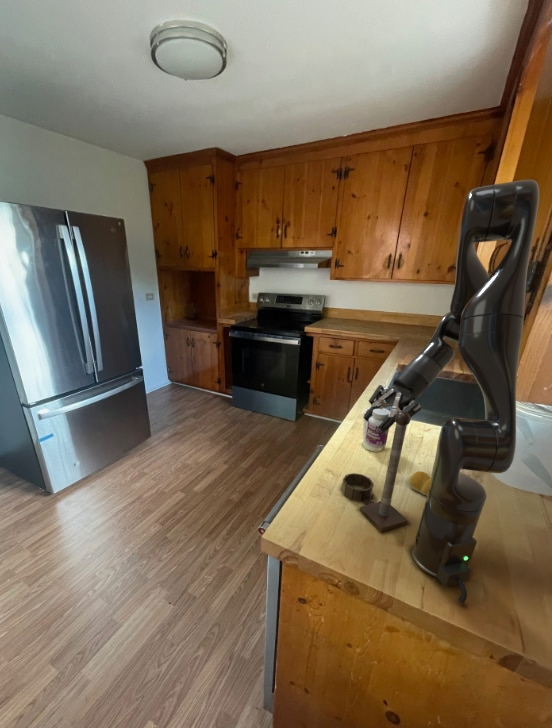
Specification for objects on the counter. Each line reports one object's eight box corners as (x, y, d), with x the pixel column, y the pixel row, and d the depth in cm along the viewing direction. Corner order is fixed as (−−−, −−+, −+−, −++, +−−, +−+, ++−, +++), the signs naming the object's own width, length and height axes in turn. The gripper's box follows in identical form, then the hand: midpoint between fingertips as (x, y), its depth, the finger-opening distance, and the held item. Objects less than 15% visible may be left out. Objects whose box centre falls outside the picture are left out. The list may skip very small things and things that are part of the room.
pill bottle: (362, 445, 88) (367, 412, 85) (367, 437, 93) (372, 405, 89) (383, 450, 86) (389, 417, 82) (387, 442, 90) (393, 410, 86)
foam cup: (353, 442, 118) (358, 409, 113) (375, 438, 121) (381, 406, 116) (369, 455, 110) (375, 420, 105) (392, 451, 112) (399, 417, 107)
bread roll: (436, 502, 88) (439, 490, 87) (403, 486, 94) (406, 474, 93) (448, 489, 93) (451, 477, 92) (416, 475, 99) (419, 464, 98)
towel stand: (407, 523, 81) (433, 417, 70) (380, 532, 78) (403, 422, 67) (359, 481, 97) (374, 388, 86) (336, 486, 94) (348, 392, 83)
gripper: (390, 360, 90) (349, 406, 90) (434, 375, 77) (386, 429, 78) (402, 376, 94) (362, 420, 94) (446, 394, 81) (399, 444, 82)
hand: (373, 424), depth 86 cm, fingers closed on pill bottle, 5 cm apart
